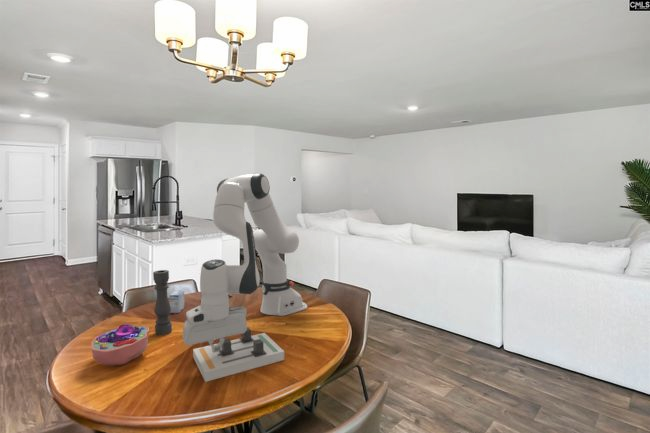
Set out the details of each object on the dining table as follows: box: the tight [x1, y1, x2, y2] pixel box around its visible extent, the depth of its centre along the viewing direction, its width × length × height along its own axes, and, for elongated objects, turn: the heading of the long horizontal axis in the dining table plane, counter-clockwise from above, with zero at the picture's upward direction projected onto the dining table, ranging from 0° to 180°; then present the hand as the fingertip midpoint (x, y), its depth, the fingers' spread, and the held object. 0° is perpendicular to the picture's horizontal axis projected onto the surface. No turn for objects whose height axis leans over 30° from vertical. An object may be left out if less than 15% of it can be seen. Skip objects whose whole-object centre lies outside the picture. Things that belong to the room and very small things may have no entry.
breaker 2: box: [251, 339, 266, 357], centre depth 117 cm, size 4×4×4 cm
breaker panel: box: [192, 332, 285, 383], centre depth 120 cm, size 26×18×3 cm
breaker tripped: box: [219, 338, 234, 356], centre depth 117 cm, size 4×4×4 cm
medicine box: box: [168, 290, 185, 314], centre depth 168 cm, size 8×4×9 cm, turn 5°
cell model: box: [90, 323, 150, 367], centre depth 119 cm, size 17×20×11 cm
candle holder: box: [152, 269, 173, 336], centre depth 141 cm, size 6×6×25 cm
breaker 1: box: [239, 326, 254, 343], centre depth 127 cm, size 4×4×4 cm
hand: (216, 351), depth 116 cm, fingers closed
